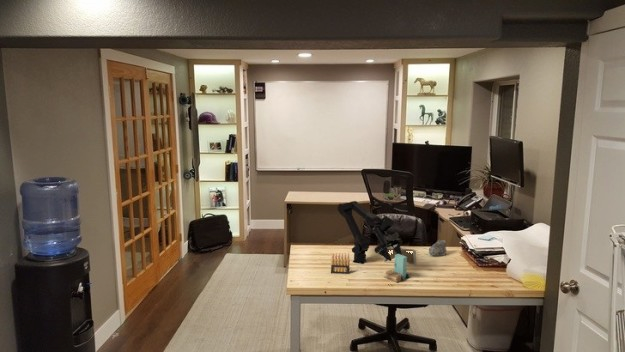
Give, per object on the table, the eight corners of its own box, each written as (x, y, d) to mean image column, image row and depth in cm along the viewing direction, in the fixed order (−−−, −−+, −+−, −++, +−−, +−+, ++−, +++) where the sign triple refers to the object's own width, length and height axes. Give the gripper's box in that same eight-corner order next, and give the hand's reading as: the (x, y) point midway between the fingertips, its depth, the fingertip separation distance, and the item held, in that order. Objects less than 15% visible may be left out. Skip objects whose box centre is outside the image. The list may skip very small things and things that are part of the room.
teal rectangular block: (394, 275, 242) (394, 255, 240) (397, 274, 244) (398, 253, 242) (402, 278, 238) (403, 258, 236) (405, 277, 240) (407, 256, 237)
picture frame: (383, 262, 262) (385, 245, 291) (383, 264, 262) (385, 248, 291) (415, 264, 258) (414, 248, 287) (415, 267, 258) (414, 250, 287)
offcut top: (385, 273, 238) (386, 271, 238) (390, 271, 241) (390, 269, 241) (397, 278, 232) (397, 276, 232) (402, 276, 235) (402, 274, 235)
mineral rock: (429, 257, 273) (430, 242, 271) (424, 251, 284) (425, 236, 282) (449, 257, 273) (450, 242, 272) (444, 251, 284) (445, 237, 282)
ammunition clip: (349, 272, 248) (350, 253, 246) (349, 274, 246) (350, 254, 244) (330, 272, 249) (331, 252, 246) (330, 273, 247) (331, 253, 245)
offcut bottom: (385, 277, 239) (385, 275, 239) (390, 275, 242) (390, 273, 241) (396, 282, 233) (396, 280, 233) (401, 280, 236) (401, 278, 235)
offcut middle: (384, 275, 239) (384, 273, 239) (389, 273, 242) (389, 271, 242) (396, 279, 233) (396, 277, 233) (400, 278, 236) (401, 275, 236)
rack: (383, 278, 240) (383, 273, 239) (396, 273, 247) (396, 268, 246) (397, 284, 232) (397, 279, 232) (410, 279, 239) (411, 274, 239)
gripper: (378, 231, 237) (393, 255, 230) (400, 225, 249) (415, 248, 242) (368, 241, 244) (382, 265, 238) (389, 234, 256) (403, 257, 249)
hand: (396, 258), depth 242 cm, fingers open, 9 cm apart
